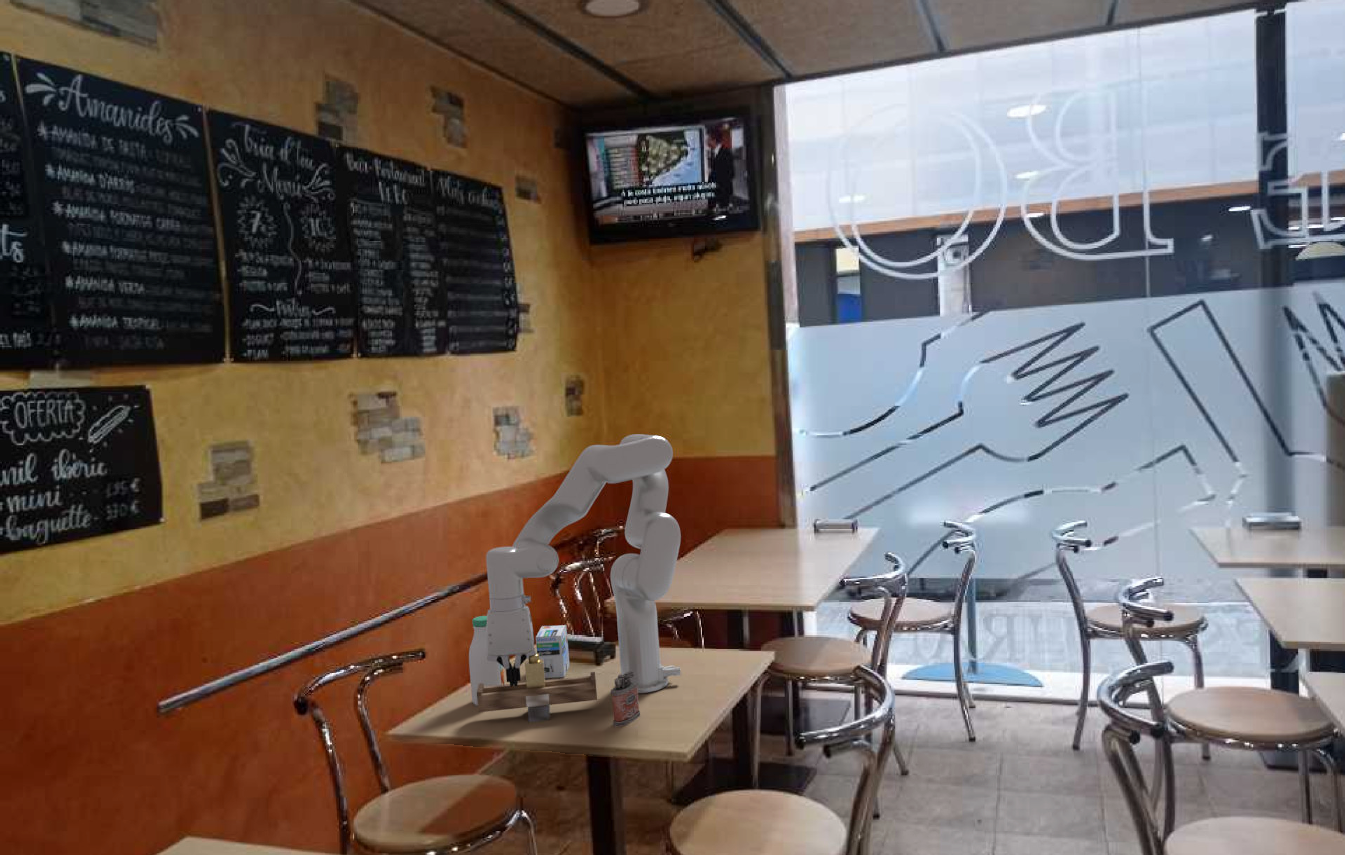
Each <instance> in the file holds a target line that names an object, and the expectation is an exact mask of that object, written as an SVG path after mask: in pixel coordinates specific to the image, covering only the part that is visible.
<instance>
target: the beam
mask: <svg viewBox="0 0 1345 855" xmlns="http://www.w3.org/2000/svg"><path fill="white" fill-rule="evenodd" d="M545 686H546V687H542V688H532V689H527V684H526V681H524V682H518V685H517V686H514V685H513V687H510V683H508V684H505V685H496V686H486V687H484V683H481V684H479V686H478V689H477V701H478V706H477V710H478V713H485V712H486V713H487V712H494V711H495V712H496V711H504V710H505V711H506V710H516V709H522V708H525V709H526V708H527V714H528V722H529V723H532V722H542V721H550V710H551V709H550V706H552V705H553V706H554V705H561V704H563V705H564V704H570V703H571V704H572V703H579V702H589V701H590V702H591V701H598V696H597V694H598V691H597V681H596V672H595V671H590V675H586V676H576V677H575V676H574V677H568V678H567V677H566V678H565V677H563V678H556V679H547V680H546V679H545Z"/></svg>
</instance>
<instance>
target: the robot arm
mask: <svg viewBox="0 0 1345 855" xmlns="http://www.w3.org/2000/svg"><path fill="white" fill-rule="evenodd" d="M673 454H674V450H673V447H672V444H671V443H670V442H669V441H668V439H666V438H665V437H664V436H663V437H662V436H659V435H656V434H655V435H653V434H652V435H651V434H641V433H638V434H636V433H635V434H630V435H627V436H624V438H622V439H621V441H620V443H619V444H616V445H605V444H594V445H593V444H592V445H589V446H587V447H586V448H585V449H584V450H582V452H581V454H580V455H579V456H578V458H577V459H576V461H575V462H574V464H573V466H572V467H571V468H570V470H569V472H568V473H567V474H566V477H564V480H563V481H562V483H561V484H560V486H559V488H558V489H557V490H556V492H555V493H554V494H553V496H552V497H551V498H550V499H549V500H548V501H546V502H545V503H544V504H543V505H542V506H541V507H540V508H539V509H538V510H537V511H536V512H535V513H534V514H533V515H532V516H531V517H530V518H529V519H528V520H527V522H526V523H525V525H524V527H523V528H522V529H521V531H520V532H519V534H518V536H517V537H516V539H515V540H514V542H513V544H512V546H501V547H500V546H498V547H494V548H491V549H490V550H488V551H487V552H486V555H485V556H486V557H485V558H486V559H485V561H486V574H487V584H488V596H489V608H490V609H488V610H487V614H486V616H487V649H488V656H487V660H488V661H493V662H498V663H499V664H501V665H502V666H503V669H504V670H505V676H506V683H509V684H510V687H513V685H514V686H517V685H518V683H519V682H520V681H521V668H520V667H521V666H522V664H523V663H525V661H527V660H529V656H534V655H536V653H537V650H536V648H535V638H534V637H535V636H534V628H533V621H532V615H531V611H530V608H529V606H528V605H526V604H528V603H532V600H531V598H532V597H531V595H526V594H525V590H524V580H523V579H529V578H532V579H533V578H537V579H538V578H545V577H548V576H549V575H552V574H553V573H554V572H555V571H556V570H557V568H558V566H559V563H560V558H559V554H558V552H557V551H556V549H555V548H554V547H552V546H551V545H550V543H551V541H552V539H553V538H554V537H555V536H556V535H557V534H558V533H559V532H560V531H561V530H563V529H564V528H565V527H567V526H569V525H571V524H573V523H576V522H577V521H579V520H581V519H583V518H584V517H585V516H586V515H587V514H588V512H589V511H590V509H591V507H592V506H593V504H594V502H595V500H596V499H597V498H598V496H599V495H600V493H601V491H602V489H603V488H604V487H605V486H606V483H608V484H619V483H622V482H623V483H625V482H628V481H632V494H631V500H630V505H629V508H628V514H627V517H626V518H627V519H626V522H625V528H624V536H625V540H626V541H627V543H628V544H629V545H631V546H632V547H633V548H636V549H639V550H640V553H639V554H638V553H625V554H623V555H620V556H619V557H618V558H617V559H616V560H615V561H614V562H613V564H612V565H611V569H610V574H609V576H610V584H611V589H612V592H613V596H614V597H613V598H614V603H615V610H616V611H615V612H616V618H617V619H616V622H617V633H618V634H617V636H618V650H619V664H620V674H621V675H624V674H625V673H627V672H629V671H633V672H634V677H633V678H631V679H630V680H635V681H637V682H638V686H637V692H638V694H646V693H652V692H656V691H659V690H661V689H664V688H666V687H667V686H668V684H669V677H671V676H673V677H675V676H676V677H677V676H681V675H682V674H681V667H680V666H678V667H675V665H669V666H665V665H663V664H662V662H661V656H660V642H659V626H658V611H657V605H656V601H657V600H660V599H662V598H663V597H664V596H665V595H667V593H668V591H670V588H671V585H672V583H673V579H674V575H675V570H676V565H677V562H678V560H677V559H678V556H679V552H680V551H679V550H680V546H681V539H682V535H681V534H682V533H681V529H680V526H679V525H680V524H679V523H678V521H677V519H676V518H674V517H673V516H672V515H671V514H669V513H666V509H667V504H668V503H667V502H668V497H669V480H668V476H667V472H666V470H665V469H667V468H668V467H669V466H670V464H671V462H672V460H673V457H674V455H673ZM509 656H515V658H514V662H513V665H512V662H510V657H509Z"/></svg>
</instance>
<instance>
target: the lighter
mask: <svg viewBox="0 0 1345 855" xmlns="http://www.w3.org/2000/svg"><path fill="white" fill-rule="evenodd" d="M633 677H634V672H633V671H629V672H627V673H625V674H624V675H621V673H620V674H618V675H617V678H615V679H614V685H615V686H614V687H613V688H612V689H610V695H611V697H612V698H611V700H612V713H613V714H612V715H613V720H612V725H613V726H614V727H623V726H626V725H627V724H630V723H632V722H634V721H635V720H637V719H638V718H639V717H641V711H640V709H639V708H640V707H639V693H638V692H637V686H638V682H637V681H635V680H630V679H631V678H633Z"/></svg>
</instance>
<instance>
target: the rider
mask: <svg viewBox="0 0 1345 855" xmlns="http://www.w3.org/2000/svg"><path fill="white" fill-rule="evenodd" d="M524 669H525V670H524V673H525V682H526V684H527V689H532V688H542V687H546V686H545V680H546V678H545V673H544V661H543V659H539V654H538V653H537V652H536V655H534V656H529V659H528V660H525V661H524Z"/></svg>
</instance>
